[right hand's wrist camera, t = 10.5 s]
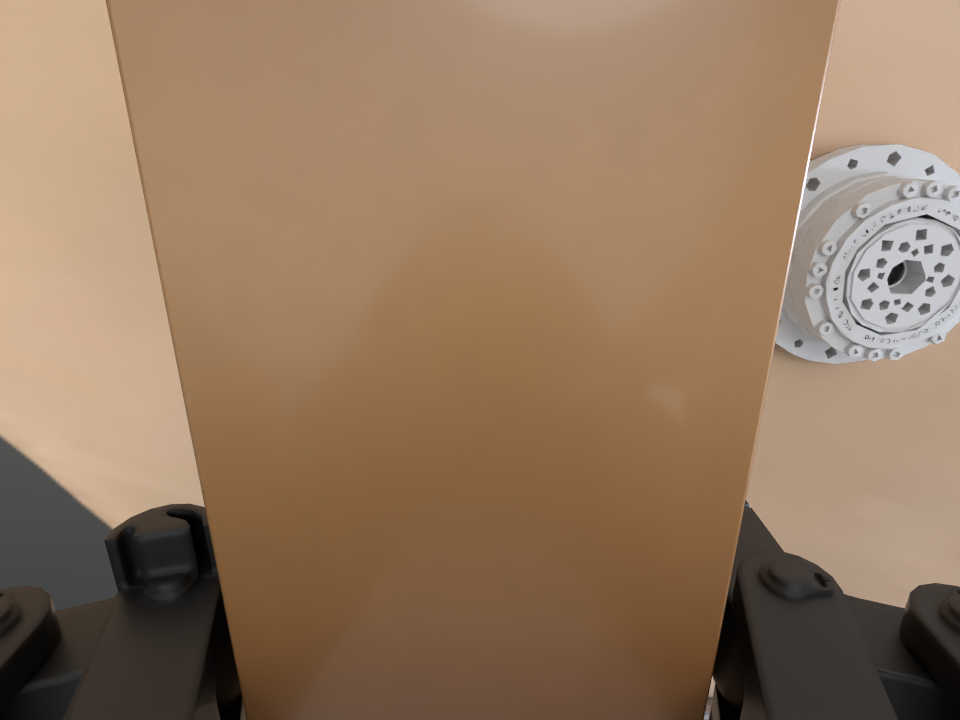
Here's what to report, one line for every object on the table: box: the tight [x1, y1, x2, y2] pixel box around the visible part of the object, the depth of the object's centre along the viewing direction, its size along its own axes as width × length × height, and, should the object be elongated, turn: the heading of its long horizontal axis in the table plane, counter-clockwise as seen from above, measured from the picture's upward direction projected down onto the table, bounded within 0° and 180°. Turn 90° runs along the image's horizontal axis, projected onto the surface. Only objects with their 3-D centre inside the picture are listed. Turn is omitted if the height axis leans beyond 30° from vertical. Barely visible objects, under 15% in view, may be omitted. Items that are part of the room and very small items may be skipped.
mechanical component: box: [775, 144, 960, 364], centre depth 25 cm, size 10×4×10 cm
